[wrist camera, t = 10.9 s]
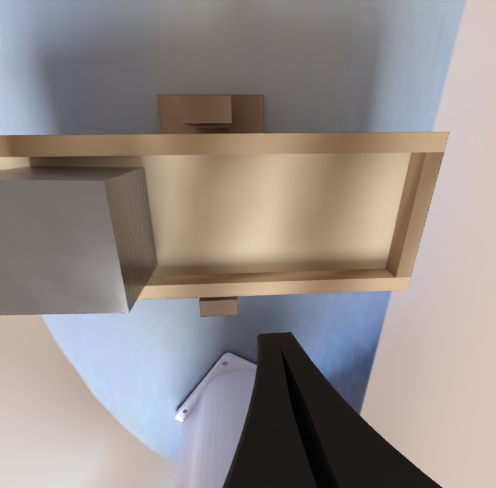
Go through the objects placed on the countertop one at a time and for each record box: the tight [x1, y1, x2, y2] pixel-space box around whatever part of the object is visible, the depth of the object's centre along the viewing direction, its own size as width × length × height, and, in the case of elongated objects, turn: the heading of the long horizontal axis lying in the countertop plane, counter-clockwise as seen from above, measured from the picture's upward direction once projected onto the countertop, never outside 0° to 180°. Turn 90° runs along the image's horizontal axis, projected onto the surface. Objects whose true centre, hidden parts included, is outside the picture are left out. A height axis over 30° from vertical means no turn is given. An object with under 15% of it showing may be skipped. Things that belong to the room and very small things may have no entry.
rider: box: [0, 166, 157, 315], centre depth 11 cm, size 5×5×4 cm
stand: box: [158, 95, 264, 317], centre depth 15 cm, size 6×12×6 cm, turn 1°
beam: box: [0, 132, 449, 300], centre depth 13 cm, size 20×8×2 cm, turn 90°
